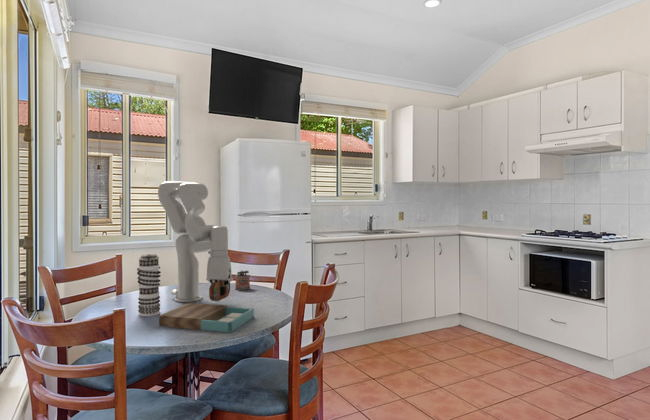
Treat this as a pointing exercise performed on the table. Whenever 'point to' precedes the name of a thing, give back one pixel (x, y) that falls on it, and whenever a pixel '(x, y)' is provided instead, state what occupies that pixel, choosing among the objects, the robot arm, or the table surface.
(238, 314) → the cream tile
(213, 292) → the tin
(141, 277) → the decorative candle
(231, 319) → the cream tile
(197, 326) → the plate
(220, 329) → the box
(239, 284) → the lighter
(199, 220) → the robot arm
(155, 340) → the table surface
